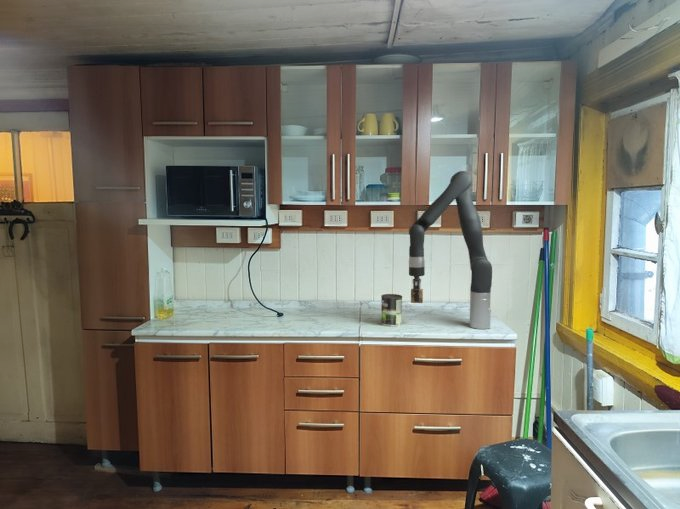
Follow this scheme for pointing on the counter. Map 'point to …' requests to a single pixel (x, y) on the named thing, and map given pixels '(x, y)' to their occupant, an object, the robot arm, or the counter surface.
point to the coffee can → (391, 310)
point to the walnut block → (419, 296)
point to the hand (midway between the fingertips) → (416, 300)
